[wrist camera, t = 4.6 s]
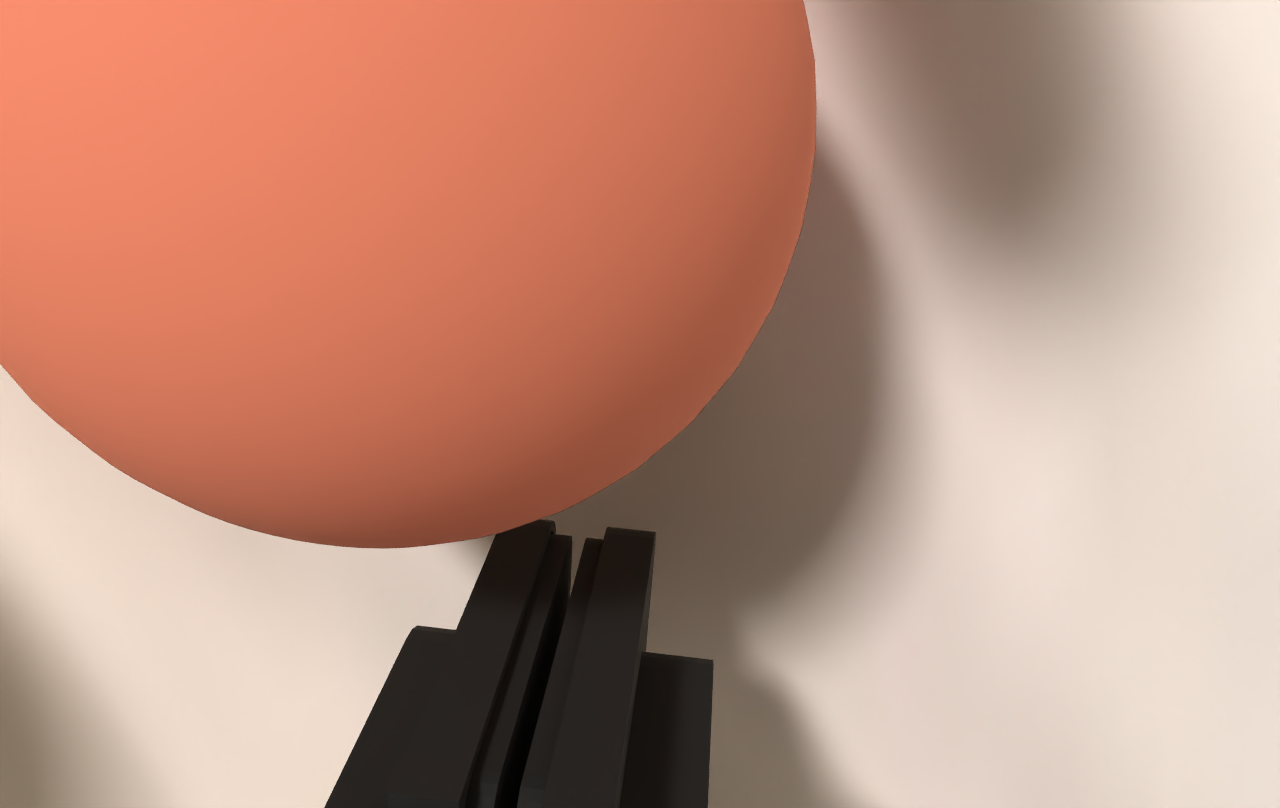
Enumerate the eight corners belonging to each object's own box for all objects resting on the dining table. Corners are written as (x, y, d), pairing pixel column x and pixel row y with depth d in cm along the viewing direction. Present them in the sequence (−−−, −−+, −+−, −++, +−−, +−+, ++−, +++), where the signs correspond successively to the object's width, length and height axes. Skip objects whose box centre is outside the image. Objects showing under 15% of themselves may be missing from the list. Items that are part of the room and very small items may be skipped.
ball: (875, 647, 8) (826, 92, 11) (764, -73, 3) (735, -720, 6) (183, 673, 9) (319, 175, 12) (-767, 237, 4) (-117, -425, 7)
